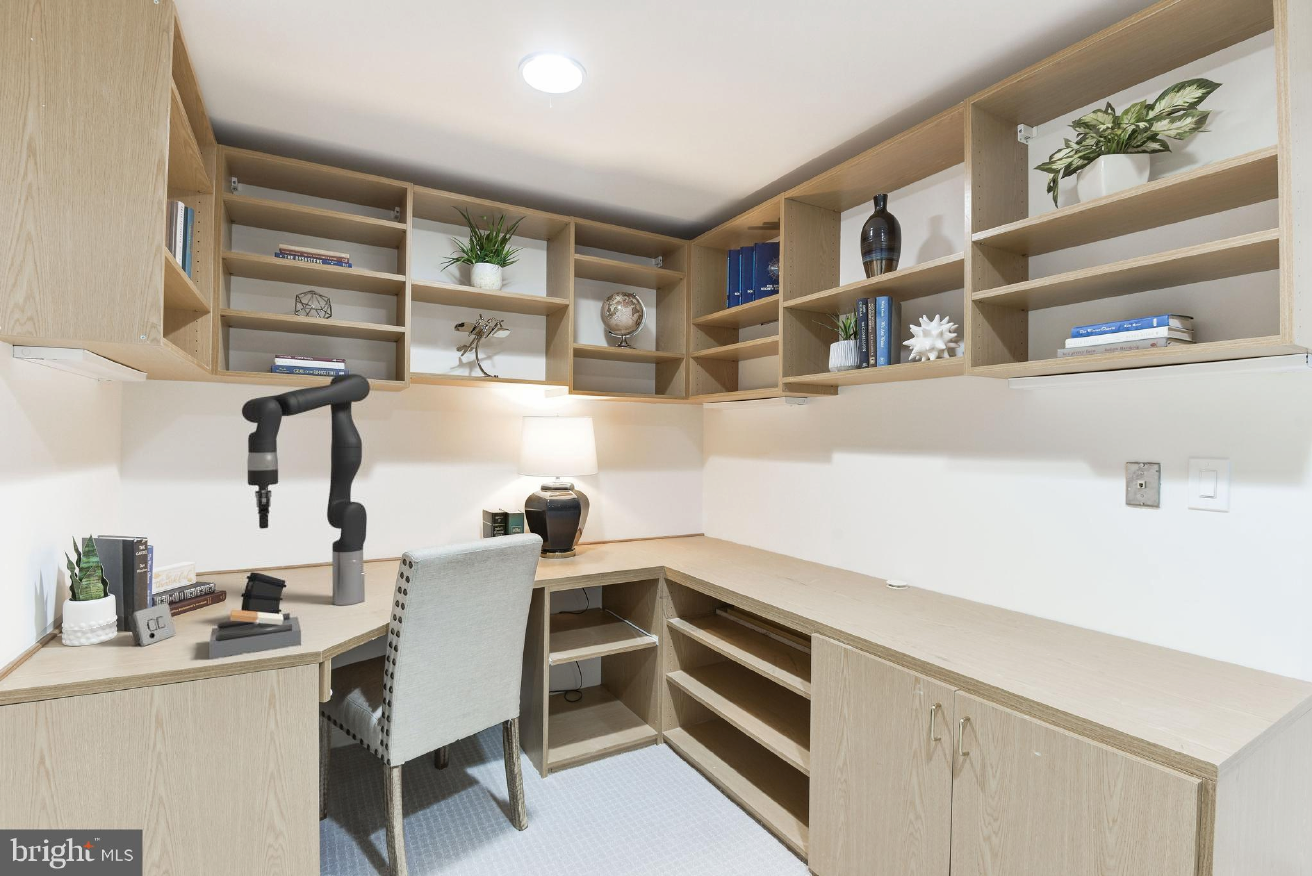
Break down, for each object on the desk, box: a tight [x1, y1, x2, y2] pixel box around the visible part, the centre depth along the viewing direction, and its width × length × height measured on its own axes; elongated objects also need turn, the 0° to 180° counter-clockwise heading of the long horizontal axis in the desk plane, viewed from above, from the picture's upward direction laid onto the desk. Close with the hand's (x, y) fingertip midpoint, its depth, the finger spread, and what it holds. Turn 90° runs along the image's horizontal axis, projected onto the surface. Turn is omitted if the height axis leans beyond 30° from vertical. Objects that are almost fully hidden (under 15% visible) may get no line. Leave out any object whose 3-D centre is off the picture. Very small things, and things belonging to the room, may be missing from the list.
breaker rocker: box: [229, 609, 284, 625], centre depth 170 cm, size 12×6×2 cm, turn 123°
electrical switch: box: [127, 603, 177, 647], centre depth 173 cm, size 9×5×9 cm, turn 169°
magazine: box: [240, 571, 287, 614], centre depth 190 cm, size 4×13×15 cm, turn 164°
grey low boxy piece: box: [208, 612, 302, 660], centre depth 171 cm, size 20×14×6 cm
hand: (263, 527), depth 184 cm, fingers closed
